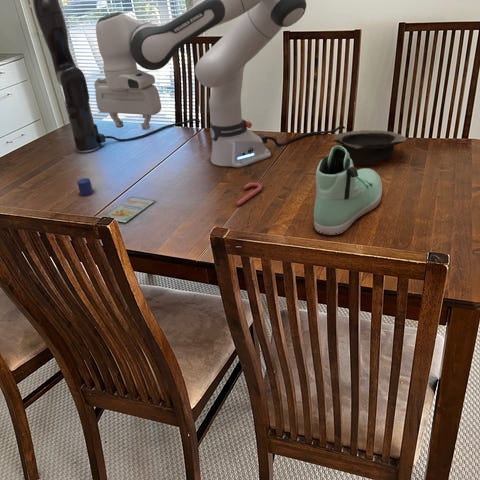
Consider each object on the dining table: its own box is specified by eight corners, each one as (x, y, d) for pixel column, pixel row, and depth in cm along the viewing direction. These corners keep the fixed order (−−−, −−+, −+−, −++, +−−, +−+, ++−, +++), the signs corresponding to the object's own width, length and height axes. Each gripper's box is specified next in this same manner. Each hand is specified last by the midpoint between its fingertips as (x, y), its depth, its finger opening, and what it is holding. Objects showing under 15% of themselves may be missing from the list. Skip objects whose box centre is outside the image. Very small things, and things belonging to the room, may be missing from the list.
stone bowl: (364, 175, 156) (364, 148, 152) (319, 158, 176) (318, 133, 172) (421, 157, 165) (422, 130, 161) (371, 142, 185) (372, 118, 181)
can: (93, 189, 163) (90, 177, 161) (92, 194, 159) (89, 182, 157) (81, 191, 162) (77, 179, 160) (79, 196, 159) (76, 184, 157)
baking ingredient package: (101, 217, 143) (132, 196, 155) (101, 218, 144) (132, 197, 155) (125, 221, 140) (154, 200, 151) (125, 223, 140) (154, 201, 152)
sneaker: (389, 187, 148) (396, 123, 138) (356, 242, 123) (361, 168, 112) (346, 181, 154) (350, 119, 144) (306, 232, 129) (307, 161, 118)
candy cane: (223, 203, 147) (223, 198, 147) (250, 184, 157) (250, 180, 157) (239, 207, 144) (239, 202, 143) (266, 187, 154) (265, 183, 154)
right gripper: (85, 81, 133) (97, 129, 140) (145, 82, 124) (155, 134, 131) (100, 75, 137) (111, 122, 144) (159, 76, 129) (168, 126, 136)
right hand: (133, 128), depth 138 cm, fingers open, 8 cm apart
